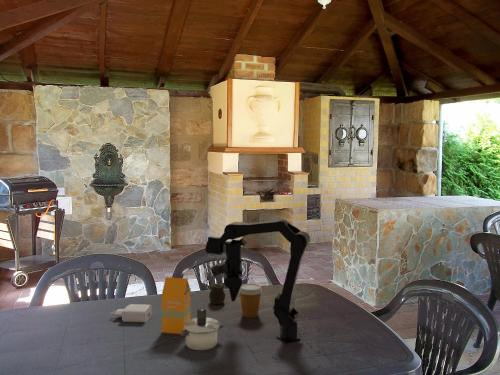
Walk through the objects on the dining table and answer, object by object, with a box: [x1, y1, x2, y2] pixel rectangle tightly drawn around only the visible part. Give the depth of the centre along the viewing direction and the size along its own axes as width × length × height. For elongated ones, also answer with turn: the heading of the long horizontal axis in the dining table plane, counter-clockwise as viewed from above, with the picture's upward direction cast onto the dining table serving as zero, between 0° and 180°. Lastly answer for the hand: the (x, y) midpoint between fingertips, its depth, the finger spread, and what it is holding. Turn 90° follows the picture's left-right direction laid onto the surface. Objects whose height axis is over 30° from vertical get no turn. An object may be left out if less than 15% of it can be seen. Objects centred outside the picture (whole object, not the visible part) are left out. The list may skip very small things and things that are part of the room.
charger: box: [110, 303, 153, 323], centre depth 184 cm, size 5×9×15 cm
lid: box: [184, 307, 220, 334], centre depth 160 cm, size 12×12×6 cm
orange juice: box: [161, 276, 192, 335], centre depth 172 cm, size 8×9×20 cm
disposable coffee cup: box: [239, 283, 263, 318], centre depth 188 cm, size 10×10×12 cm
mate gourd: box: [208, 283, 226, 305], centre depth 202 cm, size 7×8×10 cm
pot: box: [178, 322, 224, 351], centre depth 160 cm, size 11×16×6 cm
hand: (233, 297), depth 170 cm, fingers open, 9 cm apart
